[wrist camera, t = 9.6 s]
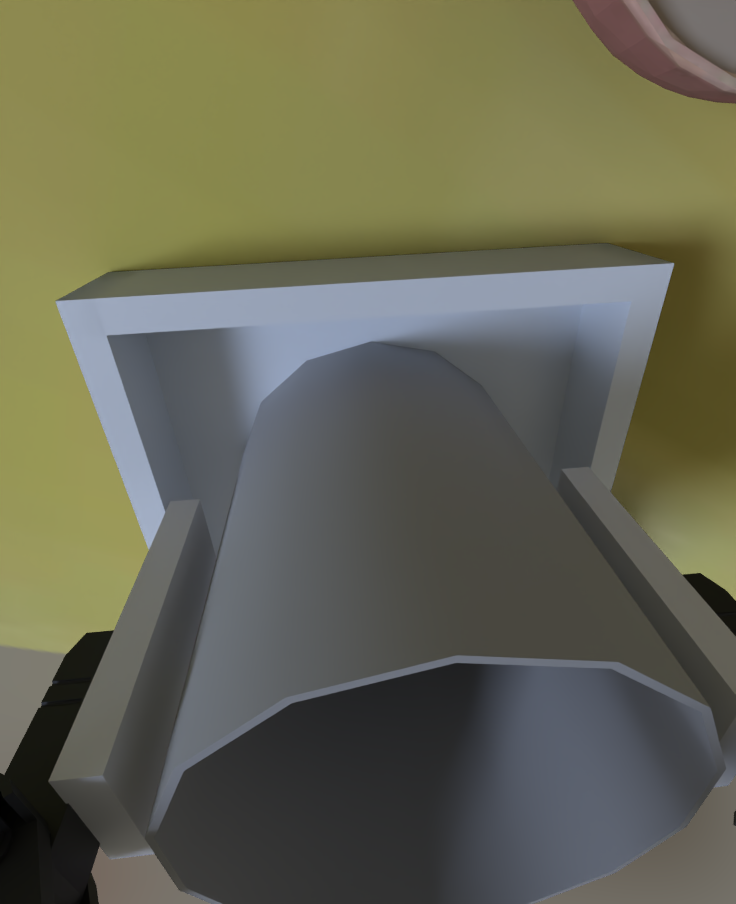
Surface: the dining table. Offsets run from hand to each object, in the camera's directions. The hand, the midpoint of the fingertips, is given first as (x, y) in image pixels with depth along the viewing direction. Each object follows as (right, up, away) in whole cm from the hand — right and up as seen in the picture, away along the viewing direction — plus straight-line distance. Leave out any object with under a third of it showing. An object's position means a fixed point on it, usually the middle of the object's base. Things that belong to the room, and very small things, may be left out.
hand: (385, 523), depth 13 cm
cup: (0, +2, +3) cm, 3 cm away
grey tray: (0, +2, +3) cm, 4 cm away
